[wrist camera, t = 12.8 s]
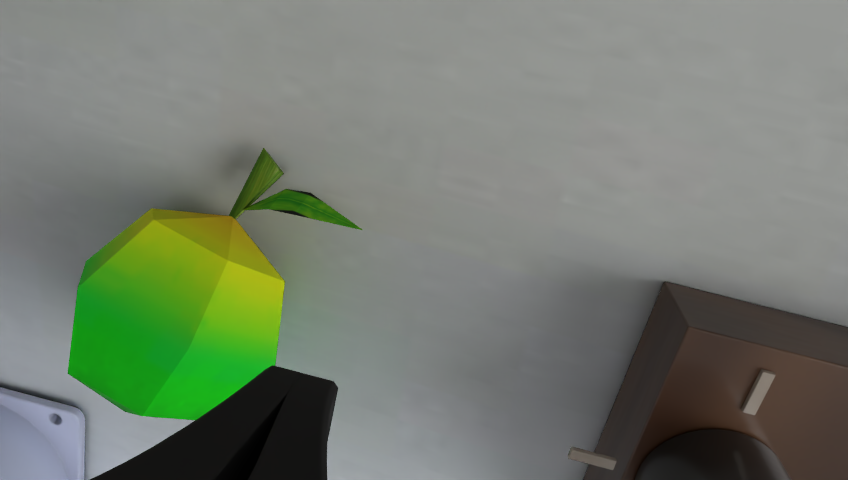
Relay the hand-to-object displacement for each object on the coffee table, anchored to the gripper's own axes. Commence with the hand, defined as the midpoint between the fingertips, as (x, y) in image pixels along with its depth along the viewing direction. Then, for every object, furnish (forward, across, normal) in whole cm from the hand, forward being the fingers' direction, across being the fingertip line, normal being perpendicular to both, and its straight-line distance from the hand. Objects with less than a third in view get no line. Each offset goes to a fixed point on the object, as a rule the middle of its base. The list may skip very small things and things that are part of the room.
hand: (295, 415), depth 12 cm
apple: (+8, +2, +3) cm, 9 cm away
